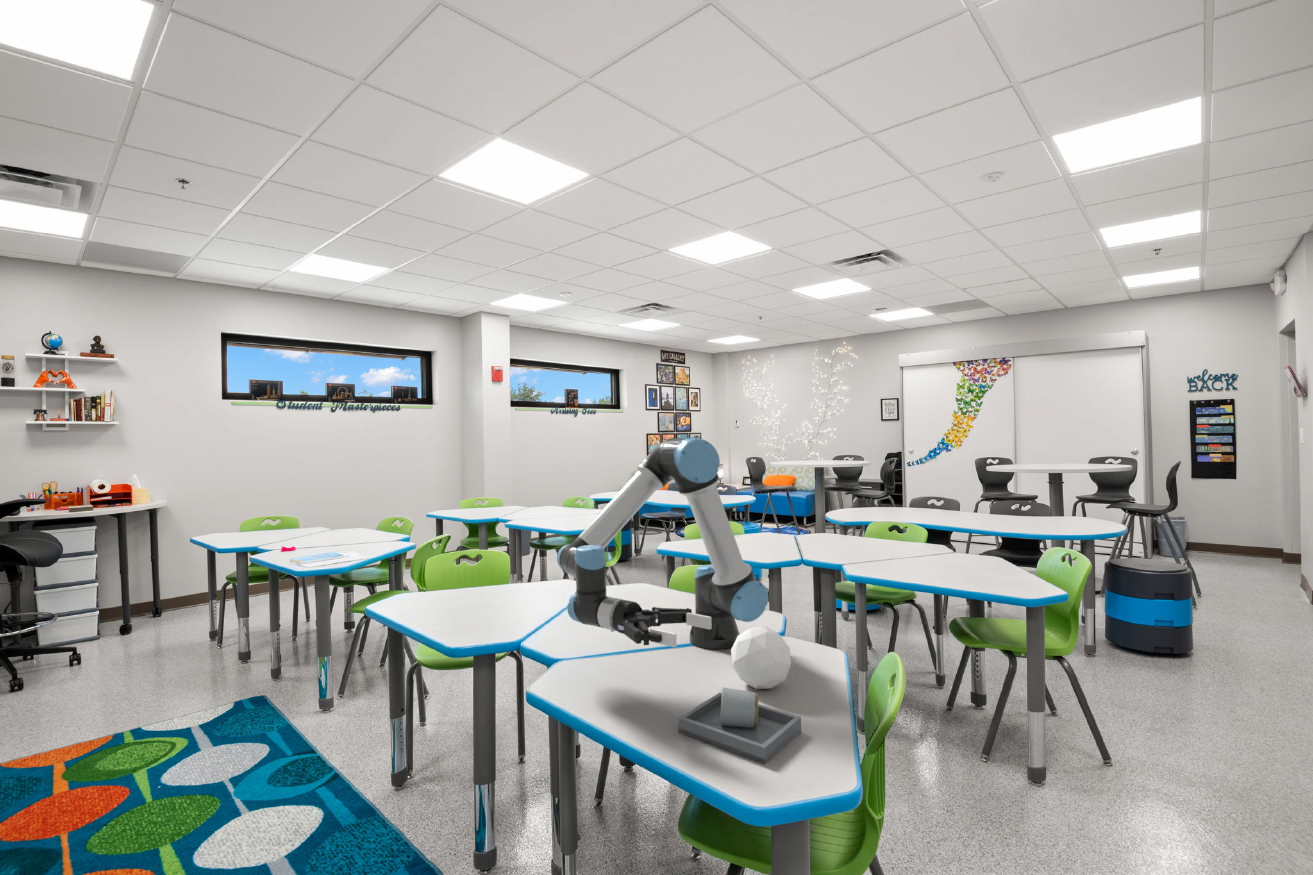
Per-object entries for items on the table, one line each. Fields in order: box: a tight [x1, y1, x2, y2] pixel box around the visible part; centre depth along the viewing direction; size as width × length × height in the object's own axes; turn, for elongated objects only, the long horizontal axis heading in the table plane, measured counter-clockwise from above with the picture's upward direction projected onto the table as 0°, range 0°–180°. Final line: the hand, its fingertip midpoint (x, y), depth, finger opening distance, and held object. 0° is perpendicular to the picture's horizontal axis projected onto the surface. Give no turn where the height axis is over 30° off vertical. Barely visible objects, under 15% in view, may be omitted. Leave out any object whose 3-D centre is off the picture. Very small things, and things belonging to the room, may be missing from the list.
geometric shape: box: [730, 626, 792, 690], centre depth 149 cm, size 14×15×15 cm
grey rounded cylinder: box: [720, 687, 759, 728], centre depth 128 cm, size 10×8×7 cm
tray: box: [677, 692, 802, 765], centre depth 125 cm, size 16×20×3 cm
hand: (693, 631), depth 132 cm, fingers open, 13 cm apart
